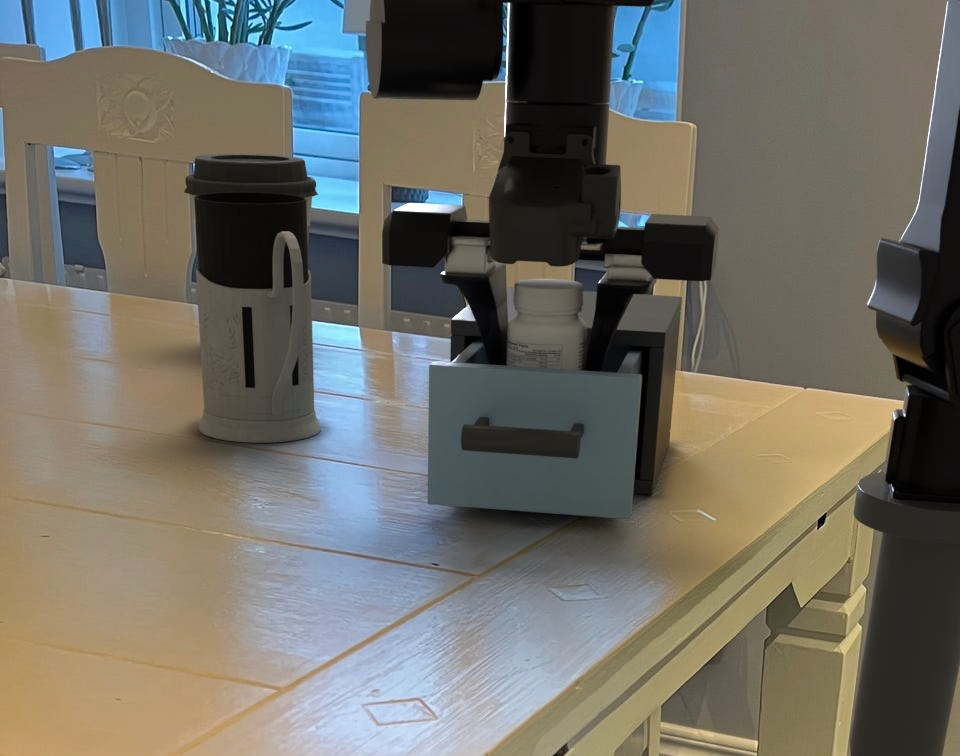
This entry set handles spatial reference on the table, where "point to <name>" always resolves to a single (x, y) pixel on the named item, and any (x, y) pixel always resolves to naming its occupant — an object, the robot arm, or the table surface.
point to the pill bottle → (547, 325)
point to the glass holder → (255, 317)
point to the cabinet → (658, 331)
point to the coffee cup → (251, 176)
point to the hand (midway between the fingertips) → (544, 399)
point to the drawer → (535, 434)
